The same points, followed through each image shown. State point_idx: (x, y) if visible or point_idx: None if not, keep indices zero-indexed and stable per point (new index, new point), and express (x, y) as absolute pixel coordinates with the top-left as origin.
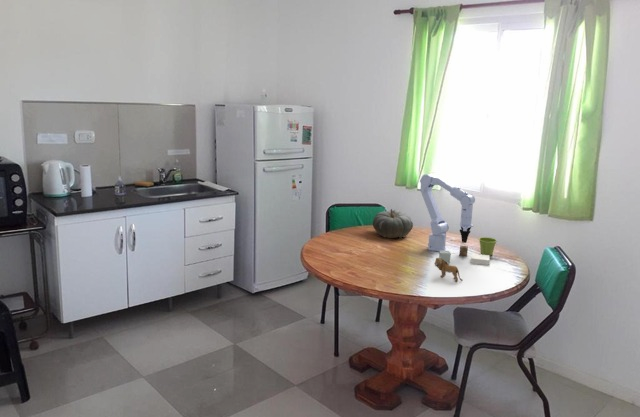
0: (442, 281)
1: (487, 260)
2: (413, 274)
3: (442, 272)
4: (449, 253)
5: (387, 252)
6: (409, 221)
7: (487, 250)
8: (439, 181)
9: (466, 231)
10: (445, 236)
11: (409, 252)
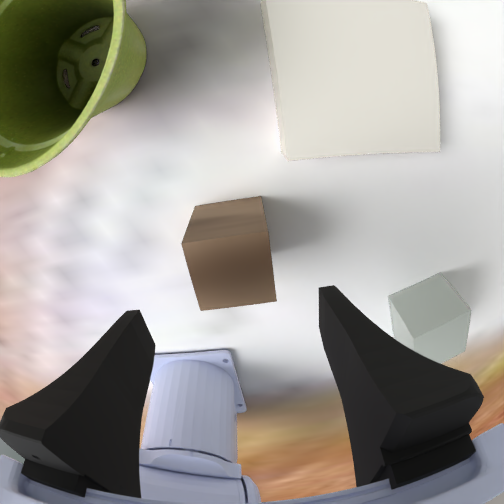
0: None
1: (427, 17)
2: None
3: None
4: (468, 315)
5: (345, 458)
6: None
7: (134, 29)
8: None
9: (465, 428)
10: (186, 442)
11: (319, 434)
